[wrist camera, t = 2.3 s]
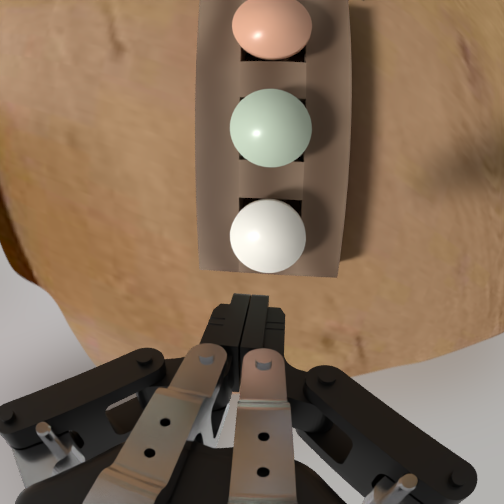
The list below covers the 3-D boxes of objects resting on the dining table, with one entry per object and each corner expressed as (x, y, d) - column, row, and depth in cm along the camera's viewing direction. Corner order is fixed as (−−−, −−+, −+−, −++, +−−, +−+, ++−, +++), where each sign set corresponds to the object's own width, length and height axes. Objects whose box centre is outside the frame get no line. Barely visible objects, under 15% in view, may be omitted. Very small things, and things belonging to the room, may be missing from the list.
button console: (342, 12, 19) (348, -1, 16) (332, 263, 28) (337, 277, 25) (208, 11, 20) (199, -2, 17) (207, 256, 29) (199, 269, 26)
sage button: (309, 96, 21) (312, 90, 18) (307, 165, 23) (310, 169, 20) (237, 95, 21) (230, 88, 18) (237, 162, 23) (229, 166, 20)
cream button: (305, 194, 24) (308, 203, 21) (301, 258, 26) (302, 274, 23) (237, 191, 24) (229, 199, 21) (237, 254, 26) (230, 270, 23)
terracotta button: (308, 11, 18) (311, -6, 15) (309, 69, 20) (312, 59, 17) (239, 10, 18) (233, -6, 15) (238, 67, 21) (230, 57, 17)
